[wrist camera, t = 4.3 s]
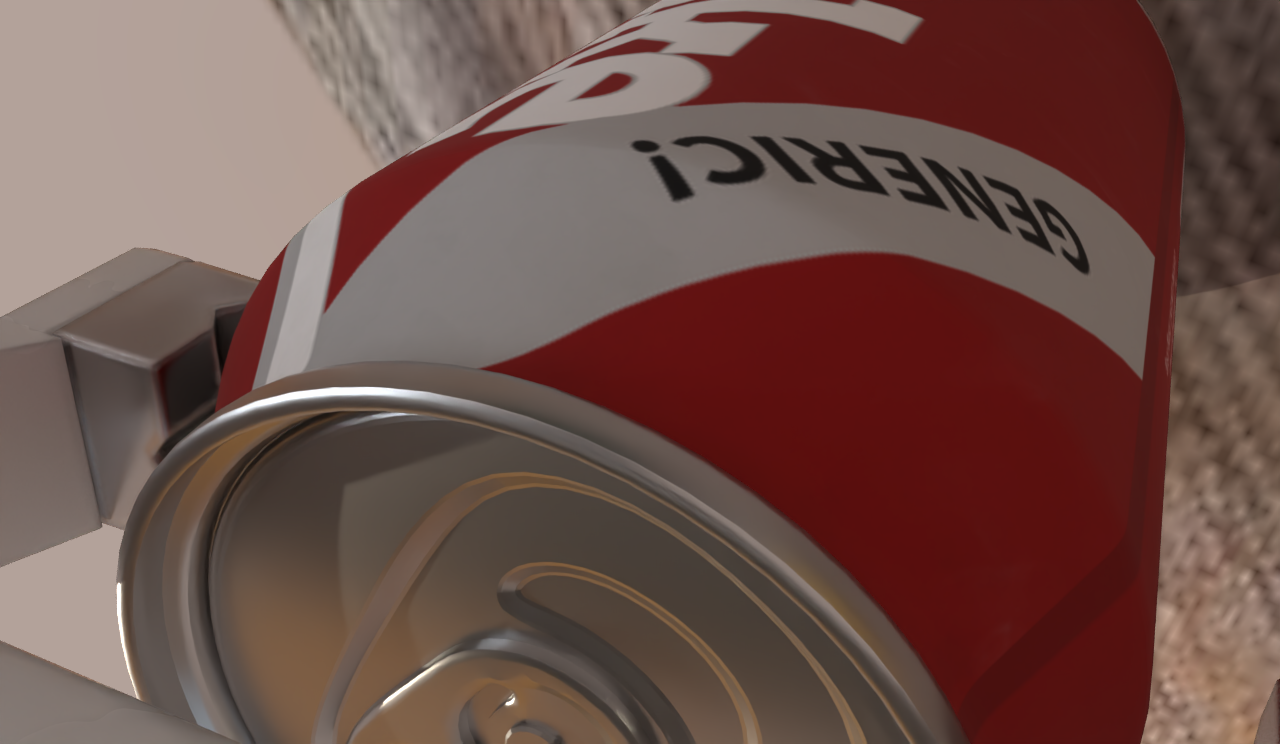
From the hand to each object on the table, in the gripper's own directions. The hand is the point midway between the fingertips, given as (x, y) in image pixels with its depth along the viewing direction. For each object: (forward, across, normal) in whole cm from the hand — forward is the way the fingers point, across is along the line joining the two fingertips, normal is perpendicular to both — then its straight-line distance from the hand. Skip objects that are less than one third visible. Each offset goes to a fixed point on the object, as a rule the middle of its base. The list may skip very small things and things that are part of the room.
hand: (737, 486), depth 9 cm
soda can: (+9, 0, 0) cm, 9 cm away
